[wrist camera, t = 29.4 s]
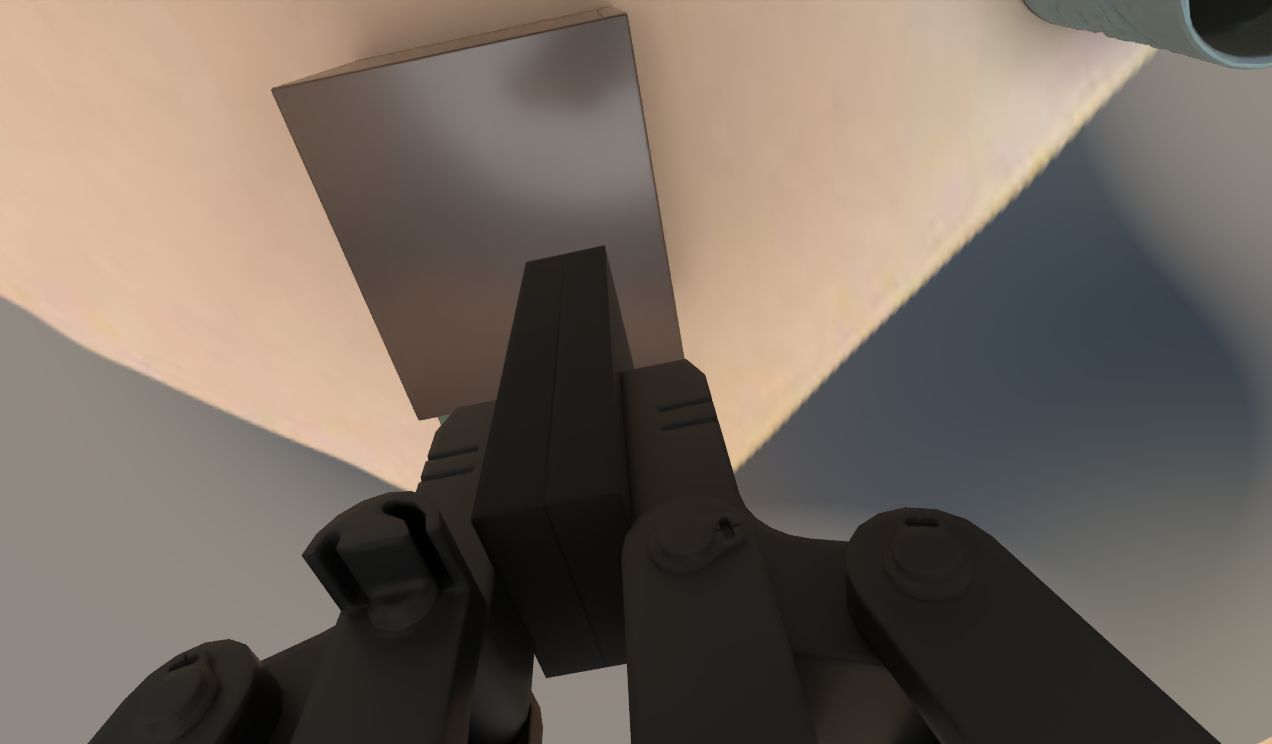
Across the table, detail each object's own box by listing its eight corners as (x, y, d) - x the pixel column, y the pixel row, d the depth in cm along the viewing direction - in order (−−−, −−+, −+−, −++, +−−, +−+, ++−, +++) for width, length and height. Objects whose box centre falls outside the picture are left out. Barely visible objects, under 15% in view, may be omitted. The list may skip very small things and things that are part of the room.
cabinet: (661, 283, 41) (686, 368, 32) (453, 325, 42) (418, 421, 32) (613, 5, 33) (627, 12, 24) (354, 61, 33) (269, 88, 24)
